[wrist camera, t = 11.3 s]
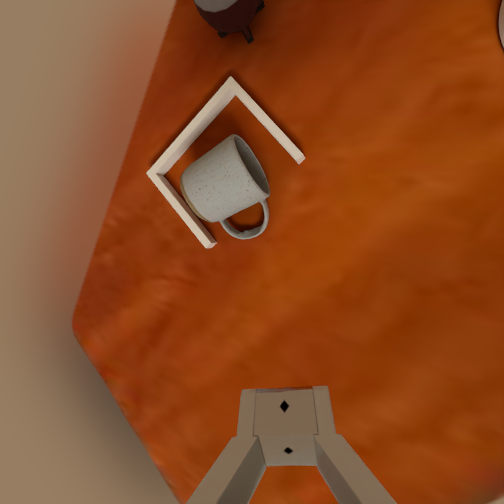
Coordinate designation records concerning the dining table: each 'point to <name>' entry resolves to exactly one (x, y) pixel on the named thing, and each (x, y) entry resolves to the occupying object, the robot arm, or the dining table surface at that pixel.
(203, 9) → the mate gourd
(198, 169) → the ceramic mug
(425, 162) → the dining table surface
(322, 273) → the dining table surface
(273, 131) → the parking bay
